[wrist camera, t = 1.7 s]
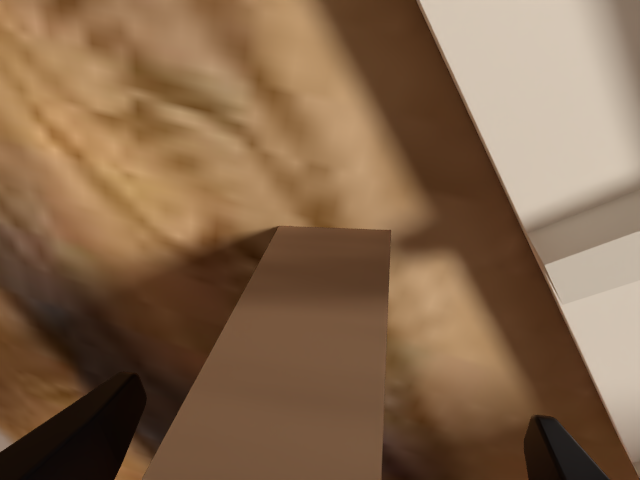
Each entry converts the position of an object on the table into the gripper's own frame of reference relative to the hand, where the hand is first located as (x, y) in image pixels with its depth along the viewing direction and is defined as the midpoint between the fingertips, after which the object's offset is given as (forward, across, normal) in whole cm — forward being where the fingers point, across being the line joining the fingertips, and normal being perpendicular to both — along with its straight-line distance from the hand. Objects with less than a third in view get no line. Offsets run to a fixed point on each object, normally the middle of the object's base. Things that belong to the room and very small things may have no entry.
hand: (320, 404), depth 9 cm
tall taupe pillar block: (+3, 0, 0) cm, 3 cm away
